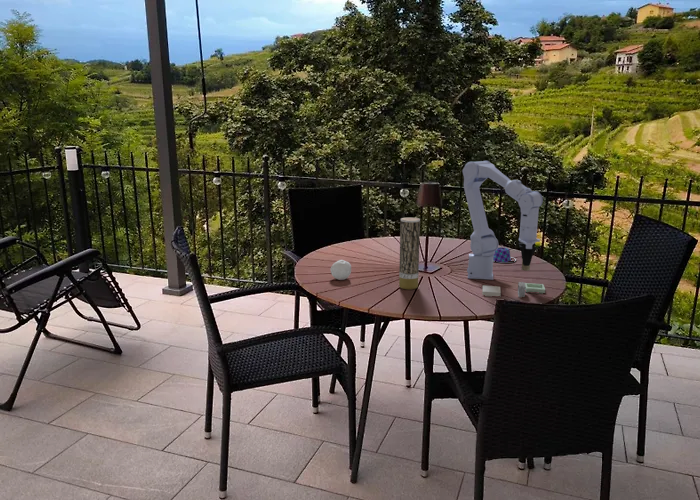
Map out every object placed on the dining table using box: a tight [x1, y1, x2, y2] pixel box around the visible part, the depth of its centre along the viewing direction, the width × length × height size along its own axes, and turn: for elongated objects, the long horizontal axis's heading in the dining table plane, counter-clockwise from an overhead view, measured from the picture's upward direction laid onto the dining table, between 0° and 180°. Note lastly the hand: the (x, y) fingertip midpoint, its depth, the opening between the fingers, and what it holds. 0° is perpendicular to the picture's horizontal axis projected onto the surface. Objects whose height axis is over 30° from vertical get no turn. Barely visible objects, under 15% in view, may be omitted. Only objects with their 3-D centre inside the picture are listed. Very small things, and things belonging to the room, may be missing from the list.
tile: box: [481, 285, 502, 297], centre depth 192 cm, size 6×7×2 cm
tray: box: [525, 282, 546, 294], centre depth 196 cm, size 6×6×2 cm
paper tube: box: [398, 217, 421, 291], centre depth 196 cm, size 7×7×25 cm
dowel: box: [521, 259, 531, 272], centre depth 195 cm, size 3×3×7 cm
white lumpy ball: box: [330, 259, 352, 281], centre depth 208 cm, size 8×8×8 cm
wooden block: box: [517, 281, 526, 298], centre depth 190 cm, size 2×5×4 cm, turn 167°
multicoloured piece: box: [493, 246, 517, 264], centre depth 236 cm, size 12×12×5 cm
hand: (526, 264), depth 195 cm, fingers closed on dowel, 3 cm apart
